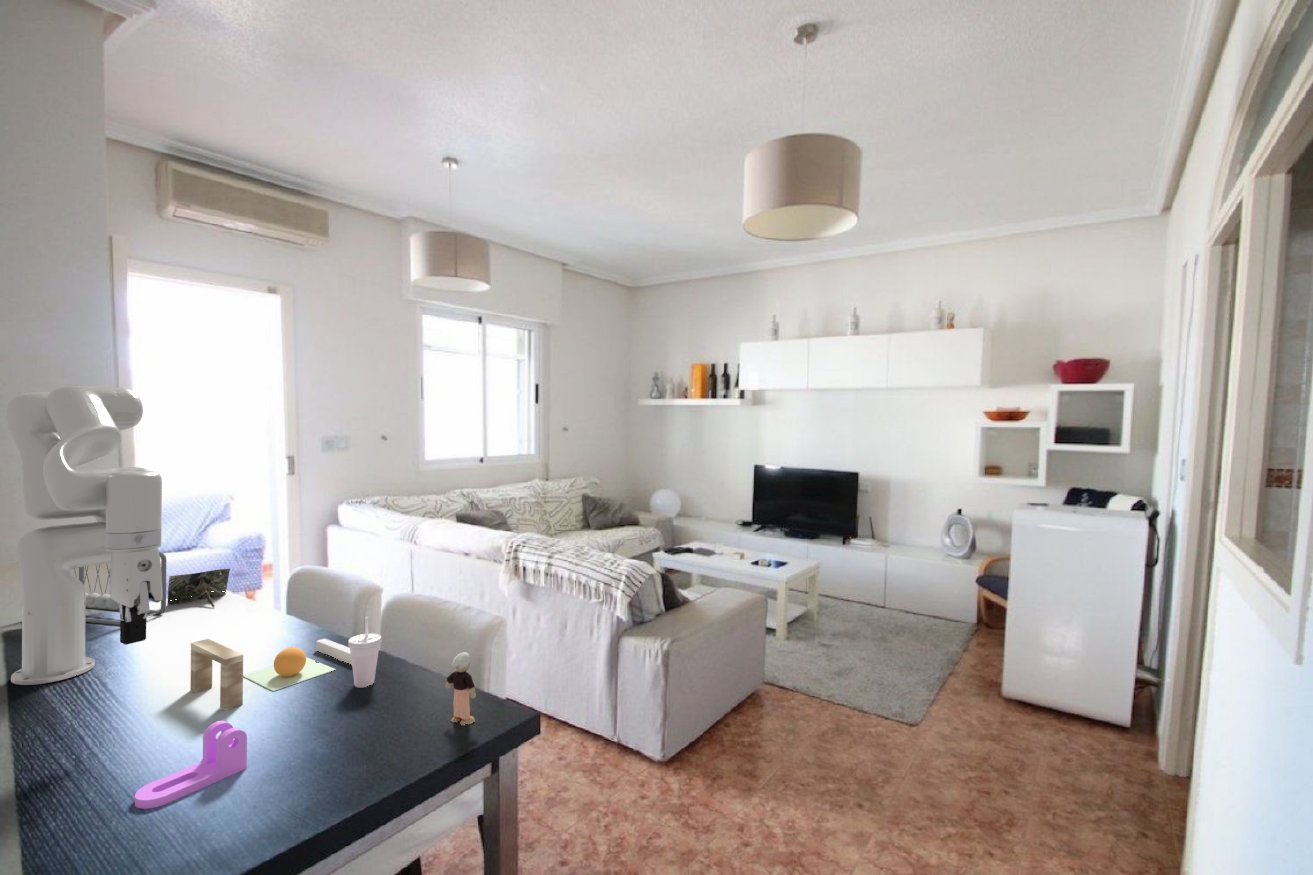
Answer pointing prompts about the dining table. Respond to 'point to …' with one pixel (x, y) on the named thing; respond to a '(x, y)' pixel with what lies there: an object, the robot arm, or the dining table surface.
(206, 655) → the bridge
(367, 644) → the smoothie
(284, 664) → the ball
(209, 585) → the dark piece
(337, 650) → the wall
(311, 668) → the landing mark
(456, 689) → the grandmother figurine
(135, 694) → the dining table surface
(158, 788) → the bracket
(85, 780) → the dining table surface
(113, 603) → the newton's cradle
